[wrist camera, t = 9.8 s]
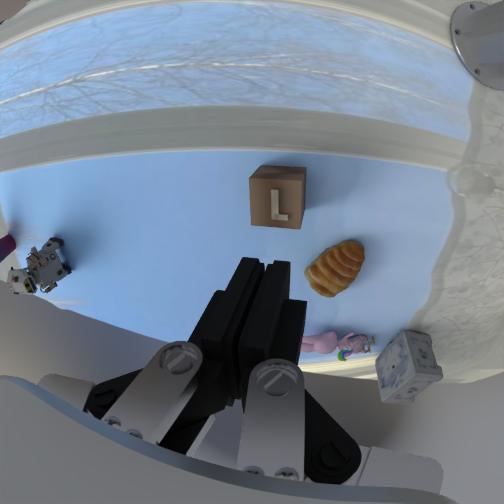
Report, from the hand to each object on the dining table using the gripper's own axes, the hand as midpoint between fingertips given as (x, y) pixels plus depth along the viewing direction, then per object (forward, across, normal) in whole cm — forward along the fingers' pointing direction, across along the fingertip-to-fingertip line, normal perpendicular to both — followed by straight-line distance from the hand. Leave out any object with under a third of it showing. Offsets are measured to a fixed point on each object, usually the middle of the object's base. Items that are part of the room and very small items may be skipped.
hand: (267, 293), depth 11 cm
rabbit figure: (+30, -6, +32) cm, 44 cm away
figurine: (+29, +57, +22) cm, 68 cm away
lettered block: (+29, +4, +6) cm, 30 cm away
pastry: (+30, -4, +17) cm, 34 cm away
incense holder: (+29, -20, +34) cm, 49 cm away
